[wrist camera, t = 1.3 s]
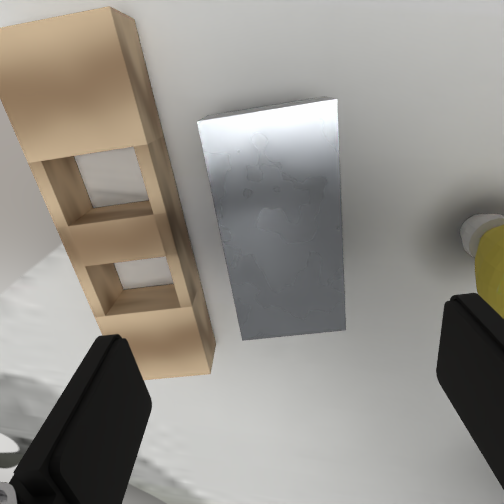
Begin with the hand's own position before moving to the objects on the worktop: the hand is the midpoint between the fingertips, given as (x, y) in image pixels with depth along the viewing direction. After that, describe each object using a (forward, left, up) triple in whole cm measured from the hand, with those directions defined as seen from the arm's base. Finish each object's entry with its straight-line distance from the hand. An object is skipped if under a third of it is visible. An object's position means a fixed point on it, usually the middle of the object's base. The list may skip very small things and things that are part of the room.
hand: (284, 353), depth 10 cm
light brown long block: (0, +10, -15) cm, 18 cm away
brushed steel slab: (0, 0, -15) cm, 15 cm away
